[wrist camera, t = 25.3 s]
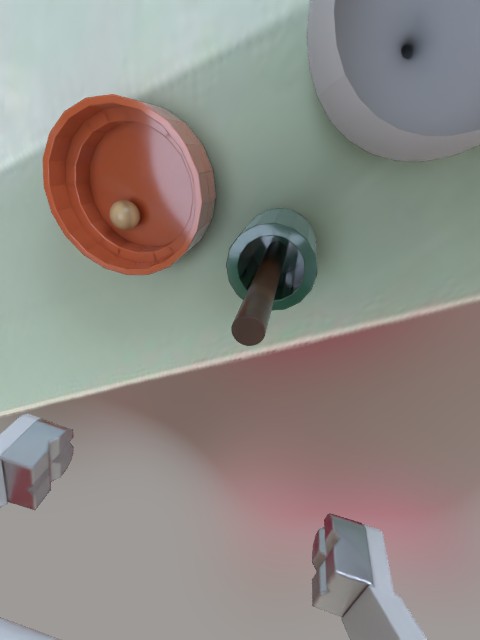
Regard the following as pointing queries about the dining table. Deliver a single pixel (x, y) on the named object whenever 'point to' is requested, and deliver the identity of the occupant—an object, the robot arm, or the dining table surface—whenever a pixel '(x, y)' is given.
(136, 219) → the bead
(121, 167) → the bowl
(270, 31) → the dining table surface
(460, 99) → the chalice
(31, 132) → the dining table surface
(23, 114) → the dining table surface
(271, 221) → the utensil pot
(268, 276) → the stick
